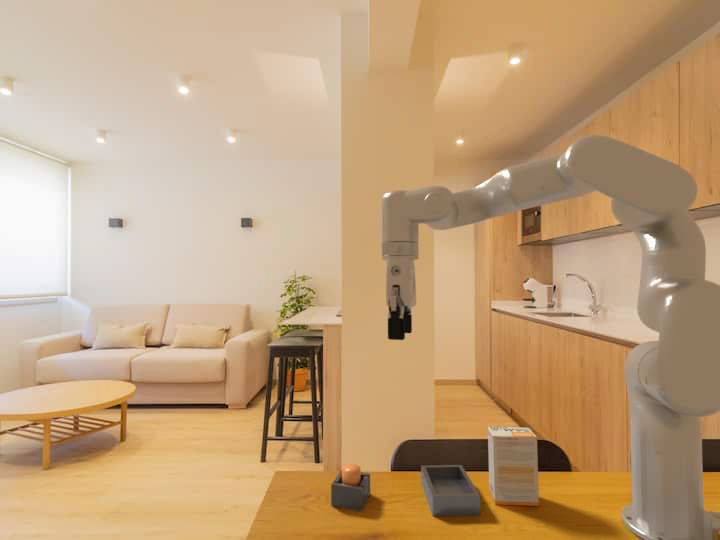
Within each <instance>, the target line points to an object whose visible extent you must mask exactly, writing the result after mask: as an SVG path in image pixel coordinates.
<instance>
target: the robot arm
mask: <svg viewBox="0 0 720 540" xmlns="http://www.w3.org/2000/svg"><path fill="white" fill-rule="evenodd" d="M596 191H597V192H598V193H600V194H602V195H604V196H607V197H608V198H610V199H611V201H610V210H611V213H612V215H613V217H614V219H615V220H617V221H618V223H620V224H621V225H622V226H624V227H626V228H628V229H629V230H630V231H631V232H633V234H634V235H635V236H636V238H637V239H638V242H639V245H640V249H641V270H640V279H639V288H638V297H637V306H636V310H637V315H638V318H639V320H640V321H641V323H642V324H643V325H645V326H646V328H648V329H650V330H652V331H654V332H656V333H658V334H659V335H658V340H649V341H644V342H641V343H639V344H637V345H636V346H634V347H633V348H632V349H631V350H630V351H629V352H628V354H627V356H626V359H625V362H624V378H625V385H626V386H625V387H626V390H627V398H628V405H629V421H630V422H629V423H630V424H629V426H630V460H631V461H630V463H631V465H630V466H631V502H632V503H628V504H626V505H625V506H623V508H622V509H621V520H622V521H623V524H624V525H625V527H627V528H628V529H629V530H630V531H631V532H632V533H633V534H635V535H636V536H637V537H639V538H640V539H642V540H718V537H717V536H716V534H719V533H720V512H718V511H711V510H710V511H709V510H705V508H704V506H705V504H704V477H703V476H704V473H703V472H704V471H703V436H702V435H703V433H702V431H703V430H702V424H701V419H700V418H705V417H710V416H713V415H716V414H718V413H719V412H720V285H719V284H717V283H716V282H714V281H710V280H707V279H706V265H707V264H706V259H707V257H706V256H707V254H706V253H707V249H706V246H707V245H706V241H705V237H704V233H703V232H702V230H701V228H700V227H699V226H700V225H698V223H697V222H696V221H695V220H694V219H693V217H692V216H691V215H690V214H689V213H688V212H687V211H688V210H689V209H690V208H691V207H692V206H693V205H694V204H695V202H696V198H697V195H698V185H697V182H696V180H695V178H694V176H693V175H692V174H691V173H690V172H689V171H688V170H686V169H685V168H683V167H682V166H680V165H679V164H677V163H675V162H673V161H670V160H668V159H665V158H662V157H660V156H658V155H655V154H653V153H650V152H648V151H646V150H644V149H641V148H639V147H637V146H634V145H631V144H629V143H627V142H624V141H622V140H619V139H616V138H613V137H610V136H606V135H603V134H589V135H584V136H582V137H579V138H578V139H575V140H574V141H573V142H572V143H571V144H570V145H569V146H568V147H567V149H566V150H565V152H560V153H557V154H553V155H550V156H546V157H541V158H538V159H534V160H531V161H526V162H523V163H518V164H515V165H510V166H507V167H506V168H504V169H501V170H500V171H498V172H497V173H495V174H494V175H493V176H492V177H491V178H489V179H487V180H486V181H483V182H482V183H481V184H478V185H476V186H474V187H471V188H468V189H464V190H461V191H456V192H452V190H450V189H449V188H447V187H445V186H442V185H431V186H427V187H421V188H419V189H413V190H402V189H401V190H392V191H388V192H386V193H384V195H383V196H382V198H381V199H382V200H381V260H384V261H386V268H385V269H386V272H385V299H386V300H385V301H386V306H387V307H388V313H387V339H388V340H391V341H403V340H405V338H406V334H411V333H412V332H413V331H412V330H413V329H412V328H413V327H412V324H413V322H412V321H413V318H412V317H413V316H412V315H413V314H412V308H414V307H415V306H416V305H417V290H416V289H417V287H416V267H415V261H416V260H419V259H420V258H419V255H420V254H419V252H420V251H419V250H420V248H419V245H420V244H419V224H425V225H427V226H428V227H429V228H431V229H433V230H436V231H445V230H446V231H447V230H451V229H455V228H460V227H465V226H468V225H472V224H476V223H481V222H483V221H487V220H491V219H494V218H499V217H502V216H506V215H509V214H512V213H515V212H519V211H522V210H528V209H532V208H536V207H540V206H541V207H542V206H544V205H545V206H546V205H549V204H553V203H558V202H563V201H567V200H570V199H571V200H572V199H576V198H579V197H583V196H586V195H590V194H592V193H593V192H596Z"/></svg>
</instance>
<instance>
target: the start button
mask: <svg viewBox="0 0 720 540" xmlns="http://www.w3.org/2000/svg"><path fill="white" fill-rule="evenodd" d="M341 470H342V484H347V485H353V486H359V485H360V483H361V475H360V472H361V465H358V464H356V463H348V464H345V465H343V466H342V467H341Z"/></svg>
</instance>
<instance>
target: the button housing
mask: <svg viewBox="0 0 720 540" xmlns="http://www.w3.org/2000/svg"><path fill="white" fill-rule="evenodd" d="M360 475H361V483H360V485H359V486H353V485H347V484H342V469H341V470H340V471H339V473H338V474H337V476H336V477H335V478H334V480H333V482H332V483H331V484H330V485H331V486H330V489H331V490H330V491H331V497H330V499H331V500H330V502H331V507H335V508H341V509H347V510H352V511H356V512H357V511H358V512H363V509H364V507H365V505H366V503H367V501H368V499H369V497H371V496H370V495H371V473H370V472H369V473H368V472H362V471H360Z"/></svg>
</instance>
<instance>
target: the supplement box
mask: <svg viewBox="0 0 720 540" xmlns="http://www.w3.org/2000/svg"><path fill="white" fill-rule="evenodd" d="M487 447H488V448H487V449H488V451H487V452H488V484H489V485H488V487H489V488H488V489H489V490H488V491H489V494H490V495H491V498H492V500H493V503H494V504H495V506H496V505H498V506H499V505H503V506H504V505H505V506H526V507H527V506H529V507H539V505H540V498H539V497H540V496H539V495H540V494H539V493H540V491H539V467H538V466H539V465H538V464H539V463H538V462H539V459H538V436H537V435H536V434H535V433H534V432H533V431H532V429H530V427H509V426H507V427H505V426H504V427H503V426H487Z"/></svg>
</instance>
